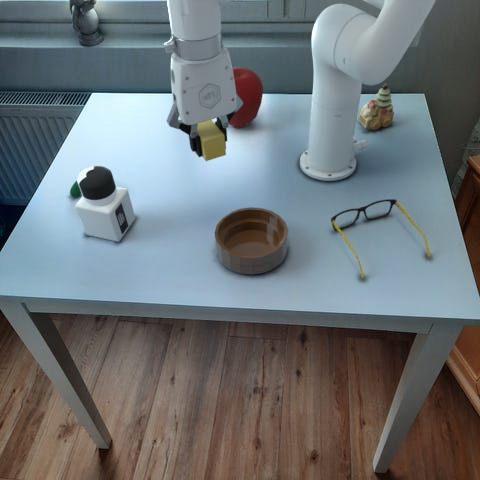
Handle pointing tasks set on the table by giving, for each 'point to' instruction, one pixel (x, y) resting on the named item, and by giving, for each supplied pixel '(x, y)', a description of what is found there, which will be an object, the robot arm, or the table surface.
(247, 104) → the apple
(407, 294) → the table surface
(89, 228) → the container
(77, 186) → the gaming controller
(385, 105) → the ornament
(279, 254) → the bowl
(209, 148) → the cheese
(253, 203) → the table surface
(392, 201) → the eyeglasses
